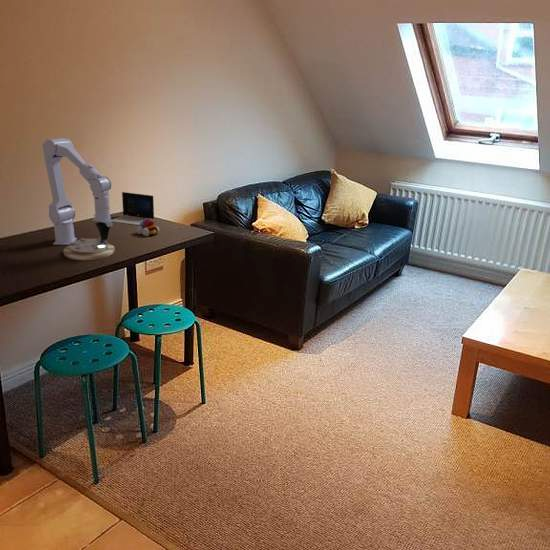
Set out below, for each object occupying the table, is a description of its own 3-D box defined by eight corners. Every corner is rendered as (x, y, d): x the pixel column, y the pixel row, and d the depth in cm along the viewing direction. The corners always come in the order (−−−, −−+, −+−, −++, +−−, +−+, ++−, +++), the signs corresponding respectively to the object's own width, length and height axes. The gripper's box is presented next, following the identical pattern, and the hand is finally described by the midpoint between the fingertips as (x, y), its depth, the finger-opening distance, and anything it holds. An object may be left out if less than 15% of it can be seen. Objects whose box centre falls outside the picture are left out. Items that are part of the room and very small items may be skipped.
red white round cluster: (147, 238, 249) (147, 222, 246) (133, 233, 254) (133, 218, 252) (161, 234, 255) (161, 219, 253) (148, 230, 260) (147, 215, 258)
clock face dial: (64, 246, 226) (63, 233, 224) (99, 241, 235) (98, 228, 233) (78, 256, 215) (77, 243, 213) (114, 250, 224) (113, 237, 222)
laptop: (109, 222, 272) (107, 196, 268) (123, 216, 284) (122, 191, 279) (141, 226, 267) (140, 200, 263) (154, 220, 279) (153, 195, 274)
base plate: (69, 245, 234) (69, 241, 233) (118, 245, 236) (117, 241, 236) (58, 260, 215) (58, 256, 214) (110, 260, 218) (110, 256, 217)
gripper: (85, 204, 224) (88, 236, 229) (99, 212, 214) (101, 245, 218) (102, 203, 229) (104, 234, 233) (116, 210, 218) (118, 242, 223)
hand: (104, 239), depth 226 cm, fingers closed
